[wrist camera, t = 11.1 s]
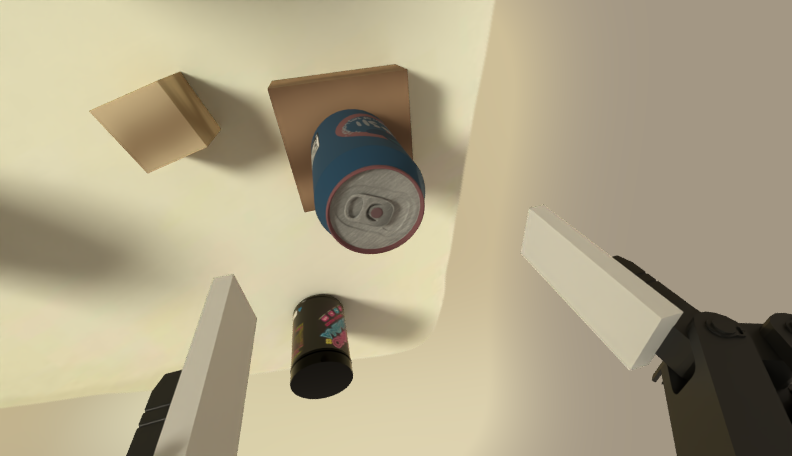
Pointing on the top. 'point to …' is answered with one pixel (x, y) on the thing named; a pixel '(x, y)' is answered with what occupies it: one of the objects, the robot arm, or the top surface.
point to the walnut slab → (329, 93)
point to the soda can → (365, 183)
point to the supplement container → (319, 348)
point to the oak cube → (159, 122)
